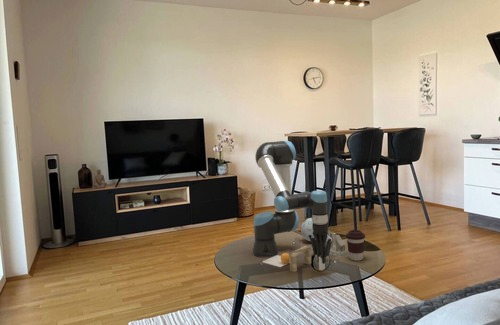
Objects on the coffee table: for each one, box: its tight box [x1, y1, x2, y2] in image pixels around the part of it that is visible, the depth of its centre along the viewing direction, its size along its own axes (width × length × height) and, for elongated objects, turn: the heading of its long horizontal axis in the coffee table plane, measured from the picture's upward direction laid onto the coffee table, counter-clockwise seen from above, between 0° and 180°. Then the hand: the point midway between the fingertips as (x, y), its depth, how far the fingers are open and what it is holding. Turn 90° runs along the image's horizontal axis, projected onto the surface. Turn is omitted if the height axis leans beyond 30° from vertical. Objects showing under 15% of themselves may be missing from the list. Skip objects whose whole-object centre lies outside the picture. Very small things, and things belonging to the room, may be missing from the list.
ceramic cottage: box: [326, 230, 348, 258], centre depth 213 cm, size 16×16×15 cm
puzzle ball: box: [300, 217, 316, 243], centre depth 233 cm, size 15×15×15 cm
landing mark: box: [262, 254, 290, 268], centre depth 203 cm, size 13×13×1 cm
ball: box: [280, 252, 290, 265], centre depth 199 cm, size 6×6×6 cm
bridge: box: [288, 245, 312, 273], centre depth 192 cm, size 3×14×9 cm, turn 136°
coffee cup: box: [345, 229, 366, 262], centre depth 199 cm, size 10×10×15 cm
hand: (322, 269), depth 183 cm, fingers closed
